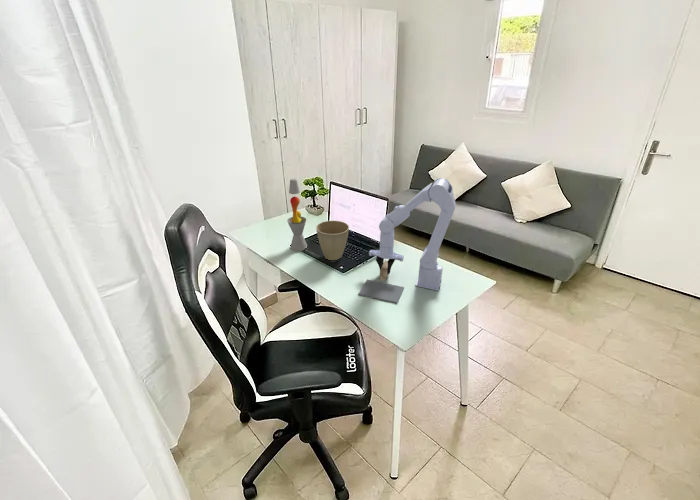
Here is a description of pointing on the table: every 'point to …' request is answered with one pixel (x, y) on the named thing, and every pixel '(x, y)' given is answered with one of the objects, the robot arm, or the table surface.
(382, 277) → the wooden tile
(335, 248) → the plant pot
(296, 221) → the lava lamp
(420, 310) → the table surface
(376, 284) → the rubber mat
